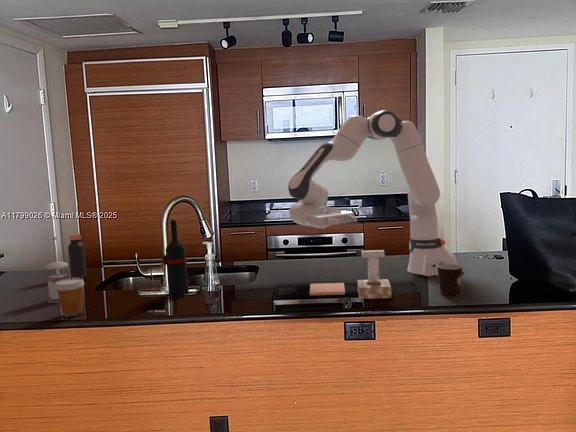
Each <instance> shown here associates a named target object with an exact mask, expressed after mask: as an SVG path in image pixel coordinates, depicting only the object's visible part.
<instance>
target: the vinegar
mask: <svg viewBox="0 0 576 432" xmlns="http://www.w3.org/2000/svg"><path fill="white" fill-rule="evenodd" d="M68 238H69V242H70V243H69V244H68V245H67V250H68V251H67V252H68V262H69V271H70V277H71V276H73V277H84V276H87V277H88V274H87V263H86V252H85V251H86V250H85V245H84V243H82V236H81V233H71V234H69V235H68Z"/></svg>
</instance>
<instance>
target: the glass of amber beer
mask: <svg viewBox="0 0 576 432" xmlns="http://www.w3.org/2000/svg"><path fill="white" fill-rule="evenodd" d="M84 286H85V282H84V278H83V279H80V278H72V279H71V278H70V279H65V278H64V279H63V280H61V281H58V282H57V283H56V286H55V288H56V289H57V292H58V296H59V300H60V307H61V313H62V314H63V313H64V314H75V313H79V312H81V311H82V310H83V308H84V307H83V305H84Z"/></svg>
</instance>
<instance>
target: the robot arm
mask: <svg viewBox="0 0 576 432" xmlns="http://www.w3.org/2000/svg"><path fill="white" fill-rule="evenodd" d="M367 138H368V139H372V140H376V141H377V140H384V139H387V138H388V139H389V140H390V141H392V143H393V145H394V150H395V153H396V155H397V159H398V163H399V165H400V168H401V171H402V173H403V175H404V178H405V181H406V182H407V185H408V186H407V200H408V201H407V202H408V212H409V221H410V222H409V224H410V225H409V227H410V229H409V230H410V231H409V232H410V235H409V236H410V237H409V243H408V244H409V245H408V247H409V248H408V249H409V252H410V253H409V260H408V266H407V272H408V273H410V274H415V275H422V276H426V277H434V276H433V275H436V276H438V268H437V266H438V265H442V264H457V265H458V261H457V258H456V256H455V255H454V253H452V252H450V251H449V249H446V248H445V247H443V246H445V245H446V240H444V239H441V238H439V235H438V234H439V231H438V229H439V228H438V216H437V210H436V209H437V208H436V204H437V203H438V201H439V199H440V198H441V197H440V196H441V191H440V187H439V184H438V182H437V179H436V176H435V175H434V174H435V173H434V172H433V169H432V167H431V165H430V163H429V160H428V156H427V154H426V151H425V147H424V144H423V141H422V139H421V135H420V133H419V131H418V129H417V127H416V125H415V123H413V122H412V121H411V120H401V119H400V118H399V117H398V116H397V114H395V113H394V112H393V111H391V110H388V109H383V110H379V111H376V112H374V113H373V114H372V115H369V116H368V117H366V118H365V117H363V116H362V115H358V114H353V115H350V116H349V117H348V118H347V119H346V120H345V122H343V124H341V126H340V128H339V130H338V131H337V132H336V134H335V136H333V138H331V140H329V141H328V142H324V143H323V144H321V145H320V146H319V147H318V149H316V150H315V151H314V153H313V154H312V155H311V156H310V157H309V159H308V160H307V162H305V164H304V165H303V166H302V168H300V170H299V171H298V172H297V173H296V174H294V175H293V176H292V177H291V178H290V180H289V182H288V186H287V187H288V194H289V196H290V197H292V198H293V199H296V200H298V201H297V202H296V203H294V204H291V206H290V208H289V210H288V211H289V213H288V214H289V218H290V219H291V221H293V222H294V223H296V224H298V225H302V226H306V227H313V228H316V229H326V228H329V227H330V226H334V225H336V226H337V225H340V224H346V223H357V221H358V218H357V217H356V216H355V213H354V212H353V211H350V210H345V209H341V208H339V207H329V206H326V205H327V203H328V200H329V192H328V190H327V188H326V187H324V186H322V185H321V184H320V183H318V182H316V181H315V180H313V178H314V176H315V175H316V174H317V172H319V170H320V169H321V168H322V166H323V165H324V164H325V163H327V162H329V161H337V162H346V161H350V160H352V159H353V158H354V157H355V156H356V154H357V153H358V152H359V149H360V148H361V147H362V144H363V143H364V142H365V140H366V139H367ZM462 272H463V273H464V270H463V269H462Z"/></svg>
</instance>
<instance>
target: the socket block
mask: <svg viewBox="0 0 576 432" xmlns="http://www.w3.org/2000/svg"><path fill="white" fill-rule="evenodd" d="M357 293H358V297H359V299H360V300H361V299H363V300H364V299H366V300H368V299H369V300H370V299H392V286H391V284H390V280H389V279H388V278H385V279H384V278H382V279H380V278H379V285H368V279H357Z"/></svg>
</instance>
